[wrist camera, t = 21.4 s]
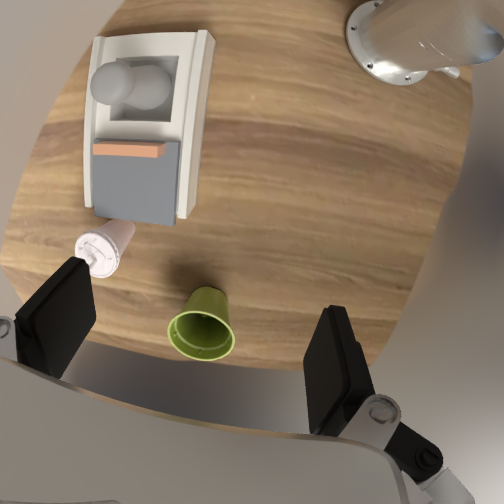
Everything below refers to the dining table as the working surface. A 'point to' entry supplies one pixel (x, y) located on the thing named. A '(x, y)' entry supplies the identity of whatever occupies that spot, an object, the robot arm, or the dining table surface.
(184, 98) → the socket block
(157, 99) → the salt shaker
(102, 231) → the smoothie
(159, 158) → the shutter
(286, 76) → the dining table surface
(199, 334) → the plant pot
